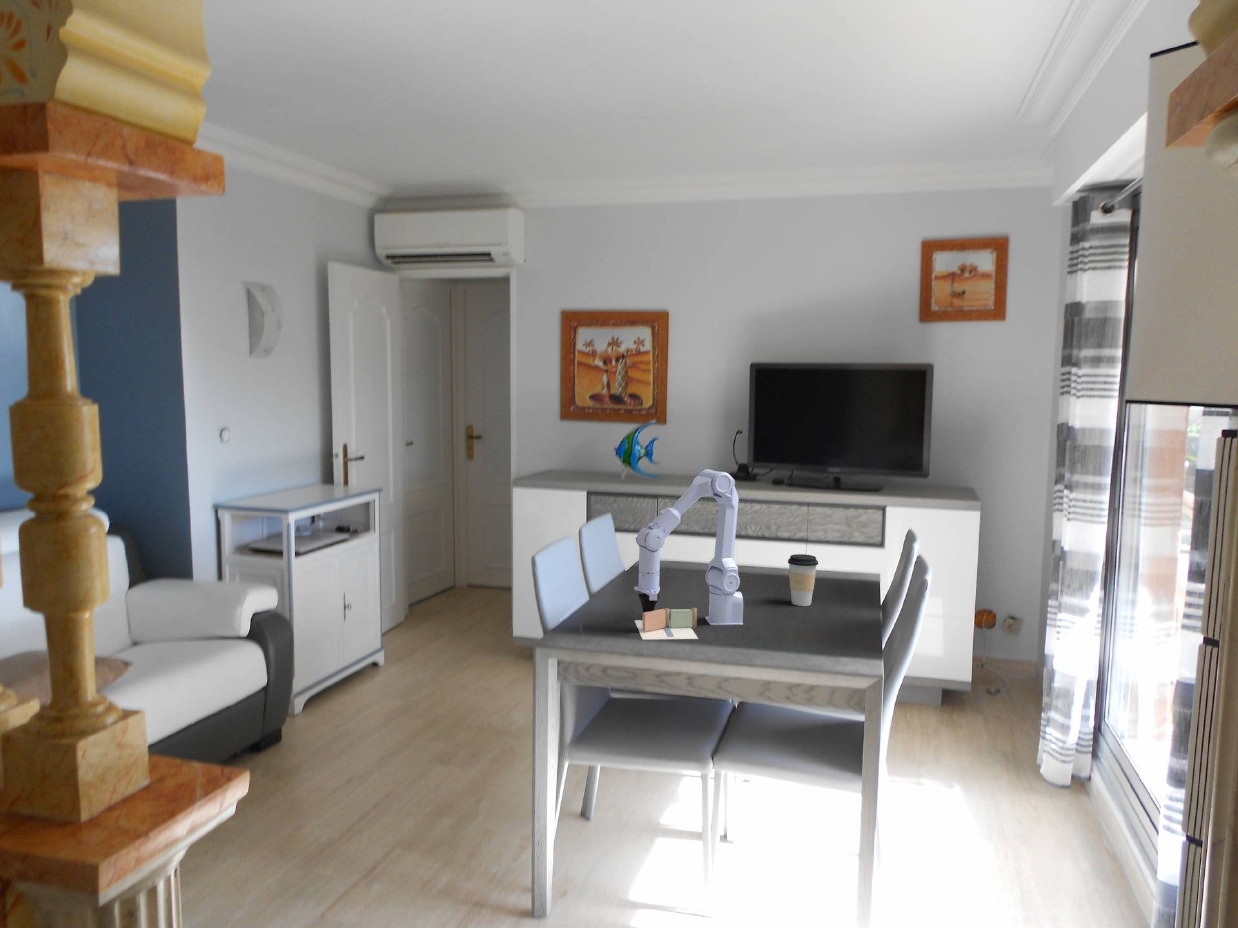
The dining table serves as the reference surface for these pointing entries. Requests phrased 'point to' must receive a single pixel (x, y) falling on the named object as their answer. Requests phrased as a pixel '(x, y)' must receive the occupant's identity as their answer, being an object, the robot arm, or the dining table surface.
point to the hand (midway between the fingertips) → (648, 619)
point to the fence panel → (656, 619)
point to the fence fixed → (683, 618)
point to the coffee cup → (802, 578)
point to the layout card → (666, 632)
